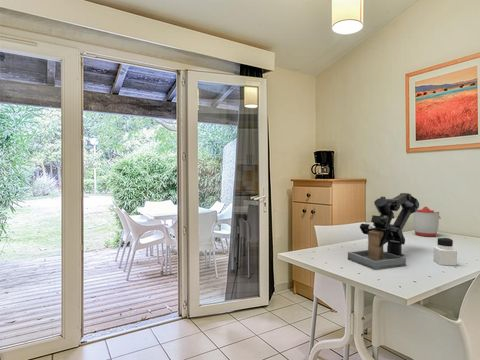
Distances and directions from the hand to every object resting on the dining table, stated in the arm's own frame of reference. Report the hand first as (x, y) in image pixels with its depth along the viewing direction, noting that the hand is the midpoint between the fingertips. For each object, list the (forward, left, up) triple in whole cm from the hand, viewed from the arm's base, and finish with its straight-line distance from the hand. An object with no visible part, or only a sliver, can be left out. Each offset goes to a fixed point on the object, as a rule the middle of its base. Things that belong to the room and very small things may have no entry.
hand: (374, 245), depth 146 cm
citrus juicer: (-83, -41, -9) cm, 93 cm away
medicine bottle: (-31, +11, -9) cm, 34 cm away
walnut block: (-1, -1, -7) cm, 7 cm away
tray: (-1, -1, -8) cm, 9 cm away
